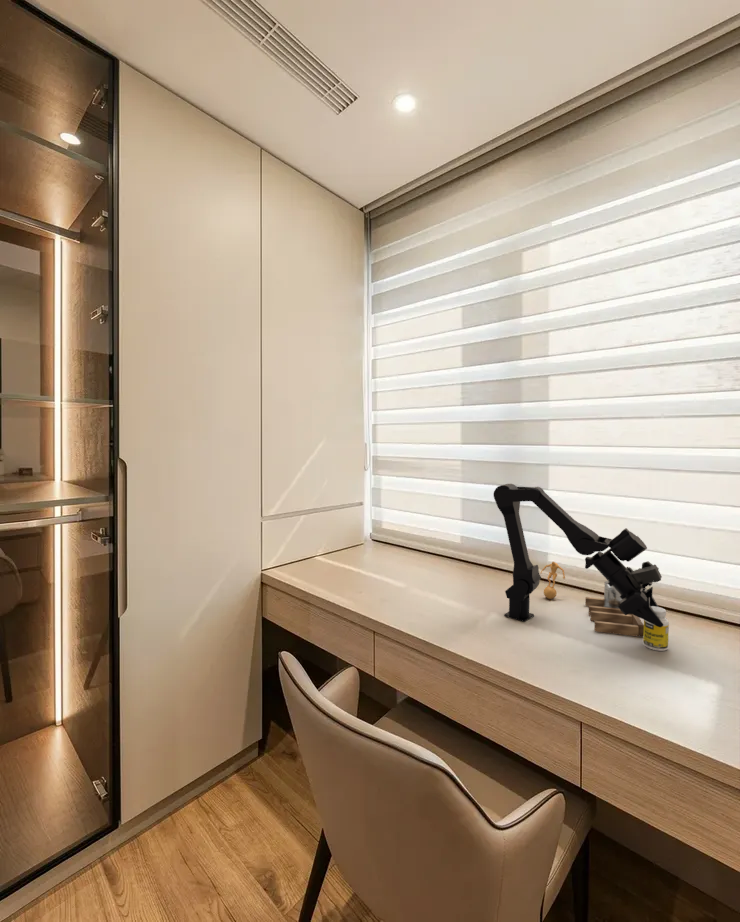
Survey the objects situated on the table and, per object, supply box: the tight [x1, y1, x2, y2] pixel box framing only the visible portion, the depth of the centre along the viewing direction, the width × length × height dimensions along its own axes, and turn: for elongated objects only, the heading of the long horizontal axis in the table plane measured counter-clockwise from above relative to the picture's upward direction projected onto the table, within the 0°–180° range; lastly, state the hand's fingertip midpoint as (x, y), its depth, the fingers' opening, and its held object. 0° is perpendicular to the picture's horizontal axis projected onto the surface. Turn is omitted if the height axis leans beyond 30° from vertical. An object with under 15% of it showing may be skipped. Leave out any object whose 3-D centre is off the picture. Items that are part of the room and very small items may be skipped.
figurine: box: [539, 561, 566, 600], centre depth 153 cm, size 8×6×12 cm
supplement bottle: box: [642, 606, 670, 652], centre depth 118 cm, size 5×5×10 cm
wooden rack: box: [585, 596, 644, 638], centre depth 135 cm, size 12×21×3 cm, turn 162°
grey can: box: [603, 580, 622, 609], centre depth 141 cm, size 5×5×9 cm
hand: (662, 622), depth 117 cm, fingers closed on supplement bottle, 5 cm apart
